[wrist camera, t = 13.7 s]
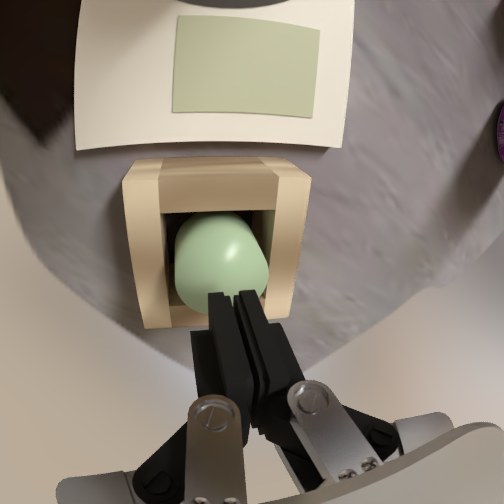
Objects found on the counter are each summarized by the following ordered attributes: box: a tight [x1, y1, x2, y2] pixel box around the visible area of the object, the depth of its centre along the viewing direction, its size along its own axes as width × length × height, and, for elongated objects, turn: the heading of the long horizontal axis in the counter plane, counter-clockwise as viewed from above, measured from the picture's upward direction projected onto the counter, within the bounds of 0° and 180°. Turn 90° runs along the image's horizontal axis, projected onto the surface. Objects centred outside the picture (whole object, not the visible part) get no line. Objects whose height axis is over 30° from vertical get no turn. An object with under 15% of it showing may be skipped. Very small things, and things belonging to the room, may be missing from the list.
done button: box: [175, 211, 269, 315], centre depth 14 cm, size 4×4×3 cm
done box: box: [122, 156, 312, 329], centre depth 15 cm, size 8×8×4 cm
